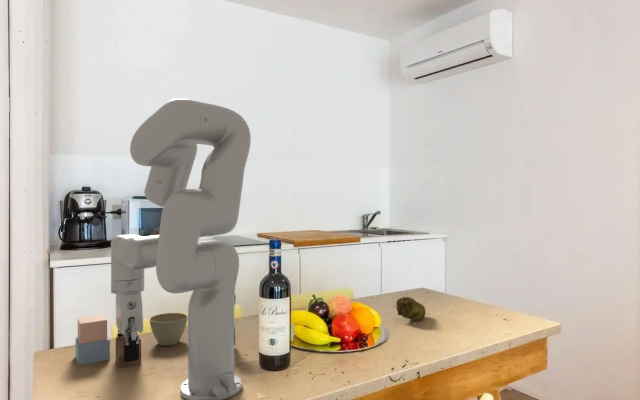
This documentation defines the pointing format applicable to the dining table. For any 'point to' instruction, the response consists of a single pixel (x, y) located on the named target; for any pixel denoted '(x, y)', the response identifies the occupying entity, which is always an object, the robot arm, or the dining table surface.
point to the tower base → (92, 351)
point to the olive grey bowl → (168, 327)
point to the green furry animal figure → (410, 308)
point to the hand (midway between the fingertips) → (127, 354)
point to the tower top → (92, 329)
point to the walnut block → (120, 352)
